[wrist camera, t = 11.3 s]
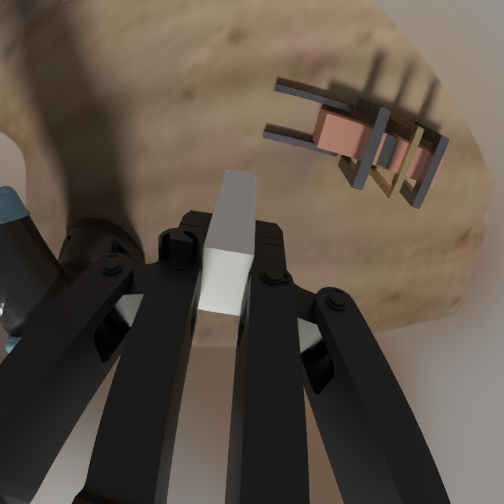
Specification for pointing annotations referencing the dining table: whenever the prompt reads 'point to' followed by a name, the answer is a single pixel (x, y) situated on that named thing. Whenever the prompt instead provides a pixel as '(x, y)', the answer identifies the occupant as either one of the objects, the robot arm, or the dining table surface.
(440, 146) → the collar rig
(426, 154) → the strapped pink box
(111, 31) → the dining table surface
